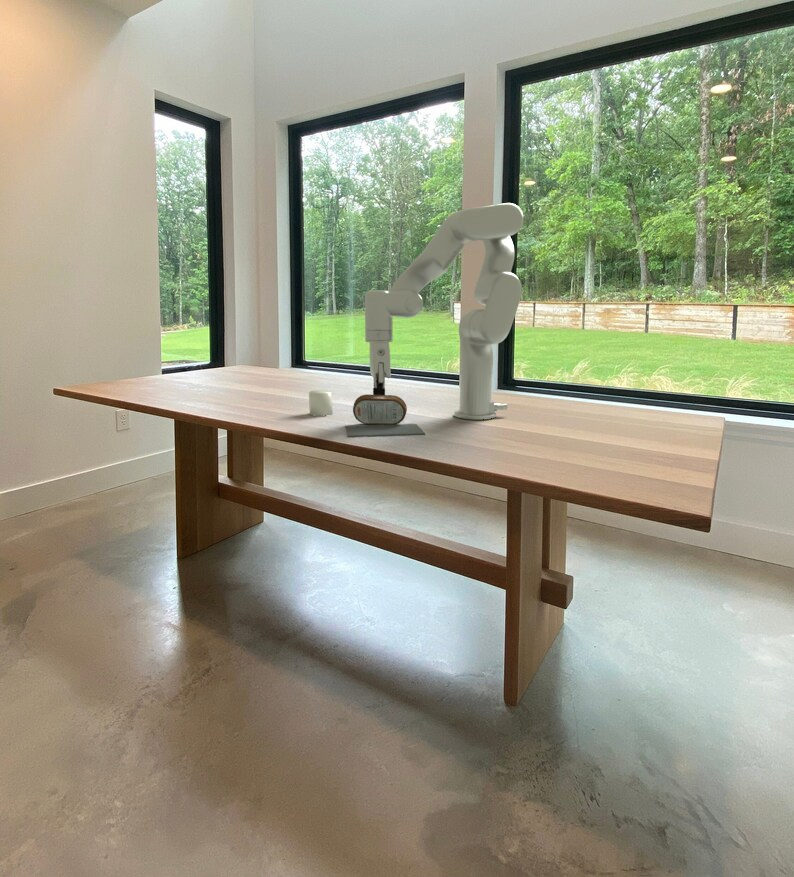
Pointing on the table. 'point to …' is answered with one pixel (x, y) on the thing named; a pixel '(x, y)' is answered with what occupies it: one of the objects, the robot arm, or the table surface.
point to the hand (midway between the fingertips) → (379, 402)
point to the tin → (379, 409)
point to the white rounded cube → (320, 402)
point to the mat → (384, 430)
